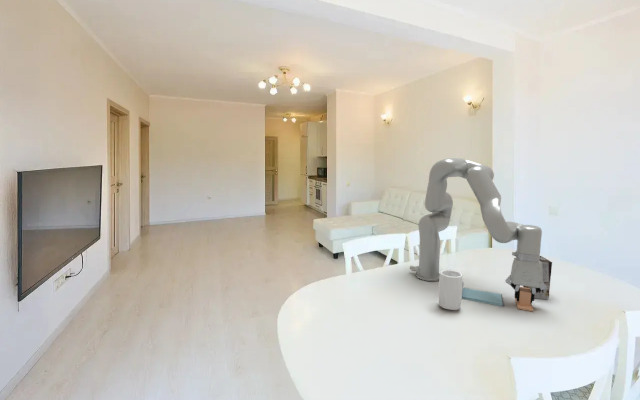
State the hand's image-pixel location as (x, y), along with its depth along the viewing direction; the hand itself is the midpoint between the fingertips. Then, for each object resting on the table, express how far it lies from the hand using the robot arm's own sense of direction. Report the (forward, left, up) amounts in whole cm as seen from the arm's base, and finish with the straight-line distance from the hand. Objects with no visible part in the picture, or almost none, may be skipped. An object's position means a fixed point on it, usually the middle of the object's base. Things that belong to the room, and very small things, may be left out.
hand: (523, 300), depth 120 cm
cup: (-26, -16, -2) cm, 31 cm away
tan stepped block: (0, 0, -2) cm, 2 cm away
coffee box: (+6, +14, -2) cm, 15 cm away
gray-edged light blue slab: (-16, 0, -2) cm, 16 cm away
